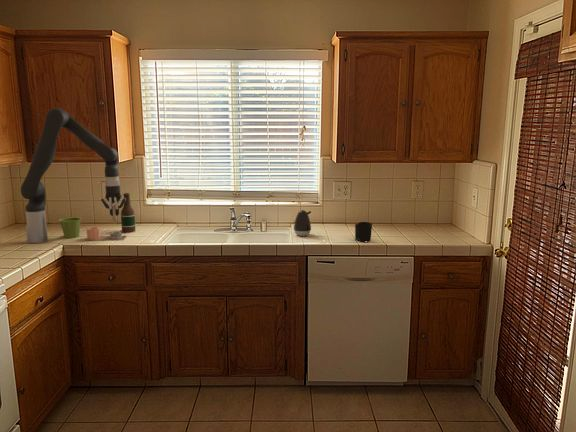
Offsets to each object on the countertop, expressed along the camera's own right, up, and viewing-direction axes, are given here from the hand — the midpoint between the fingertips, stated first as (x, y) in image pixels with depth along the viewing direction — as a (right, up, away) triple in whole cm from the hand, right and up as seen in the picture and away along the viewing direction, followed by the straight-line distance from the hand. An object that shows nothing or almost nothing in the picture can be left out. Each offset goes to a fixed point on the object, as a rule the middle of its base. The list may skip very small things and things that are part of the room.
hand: (114, 215), depth 255 cm
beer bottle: (+1, -11, +20) cm, 22 cm away
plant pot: (-26, -13, +5) cm, 30 cm away
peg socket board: (-6, -14, +2) cm, 15 cm away
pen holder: (+139, -15, +6) cm, 140 cm away
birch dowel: (0, -4, +1) cm, 4 cm away
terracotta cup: (-12, -13, +1) cm, 18 cm away
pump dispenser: (+105, -12, +18) cm, 107 cm away
